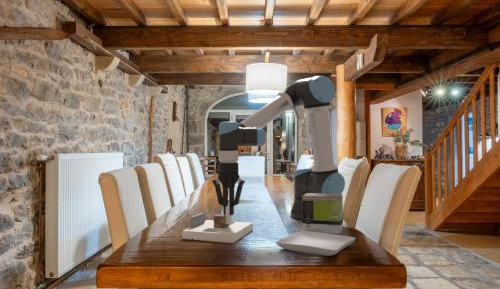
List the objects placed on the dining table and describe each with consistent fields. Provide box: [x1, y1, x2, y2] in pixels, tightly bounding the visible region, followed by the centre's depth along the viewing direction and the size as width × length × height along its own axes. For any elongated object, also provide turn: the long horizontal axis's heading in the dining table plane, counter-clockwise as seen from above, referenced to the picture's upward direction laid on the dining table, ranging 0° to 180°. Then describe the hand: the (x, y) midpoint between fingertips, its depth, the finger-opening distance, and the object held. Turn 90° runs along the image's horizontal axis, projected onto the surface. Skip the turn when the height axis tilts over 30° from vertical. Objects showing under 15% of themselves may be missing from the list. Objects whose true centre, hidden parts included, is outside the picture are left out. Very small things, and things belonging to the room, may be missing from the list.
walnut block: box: [213, 213, 229, 228], centre depth 157 cm, size 4×4×4 cm
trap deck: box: [182, 212, 254, 244], centre depth 158 cm, size 20×22×7 cm
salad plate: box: [275, 230, 356, 257], centre depth 138 cm, size 21×21×3 cm
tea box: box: [301, 193, 344, 235], centre depth 164 cm, size 15×10×15 cm
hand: (228, 223), depth 156 cm, fingers closed
